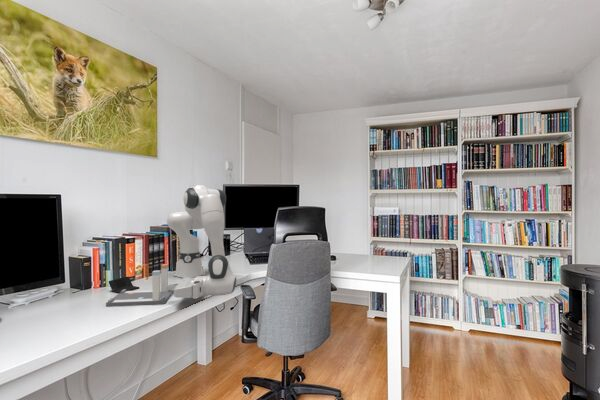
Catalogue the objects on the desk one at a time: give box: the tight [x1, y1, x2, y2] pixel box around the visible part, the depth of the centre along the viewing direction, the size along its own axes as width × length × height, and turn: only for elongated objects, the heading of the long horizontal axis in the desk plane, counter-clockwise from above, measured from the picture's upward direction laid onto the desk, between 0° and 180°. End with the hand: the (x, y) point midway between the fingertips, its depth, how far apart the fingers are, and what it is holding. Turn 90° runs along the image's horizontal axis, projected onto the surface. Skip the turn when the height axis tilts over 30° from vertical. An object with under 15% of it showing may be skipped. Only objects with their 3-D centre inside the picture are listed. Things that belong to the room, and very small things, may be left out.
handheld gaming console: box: [108, 276, 140, 295], centre depth 163 cm, size 12×7×10 cm
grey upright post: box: [160, 263, 169, 291], centre depth 157 cm, size 3×3×13 cm
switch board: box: [105, 289, 174, 308], centre depth 148 cm, size 18×24×2 cm
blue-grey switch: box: [151, 269, 161, 300], centre depth 143 cm, size 3×3×13 cm
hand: (167, 287), depth 144 cm, fingers closed
